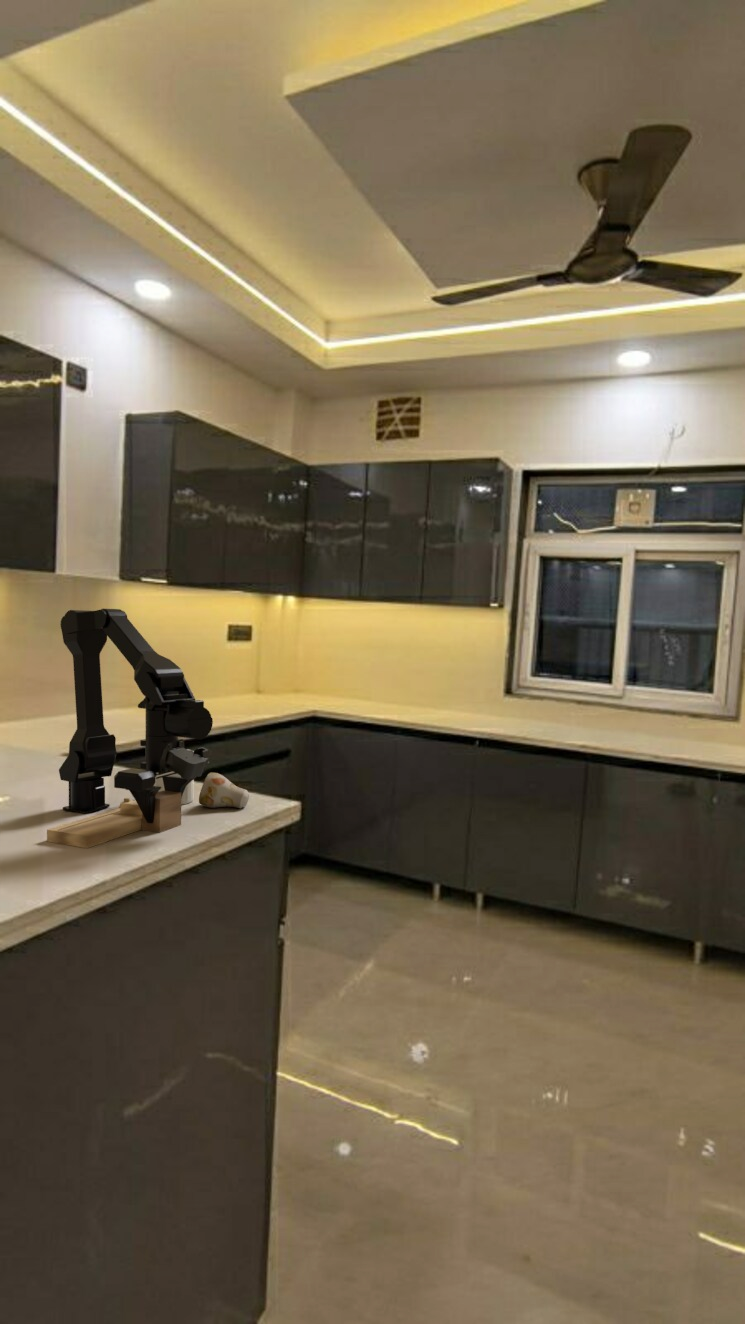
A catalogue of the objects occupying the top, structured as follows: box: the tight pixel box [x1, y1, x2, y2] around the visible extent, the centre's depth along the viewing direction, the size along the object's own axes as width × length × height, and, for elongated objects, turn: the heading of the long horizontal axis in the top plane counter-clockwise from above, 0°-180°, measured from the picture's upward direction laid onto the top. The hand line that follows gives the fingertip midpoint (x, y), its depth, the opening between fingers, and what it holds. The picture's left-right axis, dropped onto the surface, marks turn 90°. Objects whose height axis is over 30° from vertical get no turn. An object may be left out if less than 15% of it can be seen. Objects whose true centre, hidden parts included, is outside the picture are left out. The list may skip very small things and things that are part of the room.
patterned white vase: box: [198, 772, 250, 809], centre depth 153 cm, size 8×10×10 cm
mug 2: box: [156, 748, 195, 806], centre depth 159 cm, size 12×8×10 cm, turn 12°
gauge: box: [119, 790, 182, 833], centre depth 138 cm, size 11×6×6 cm, turn 66°
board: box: [46, 807, 142, 849], centre depth 135 cm, size 9×22×2 cm, turn 156°
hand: (161, 818), depth 137 cm, fingers open, 6 cm apart
